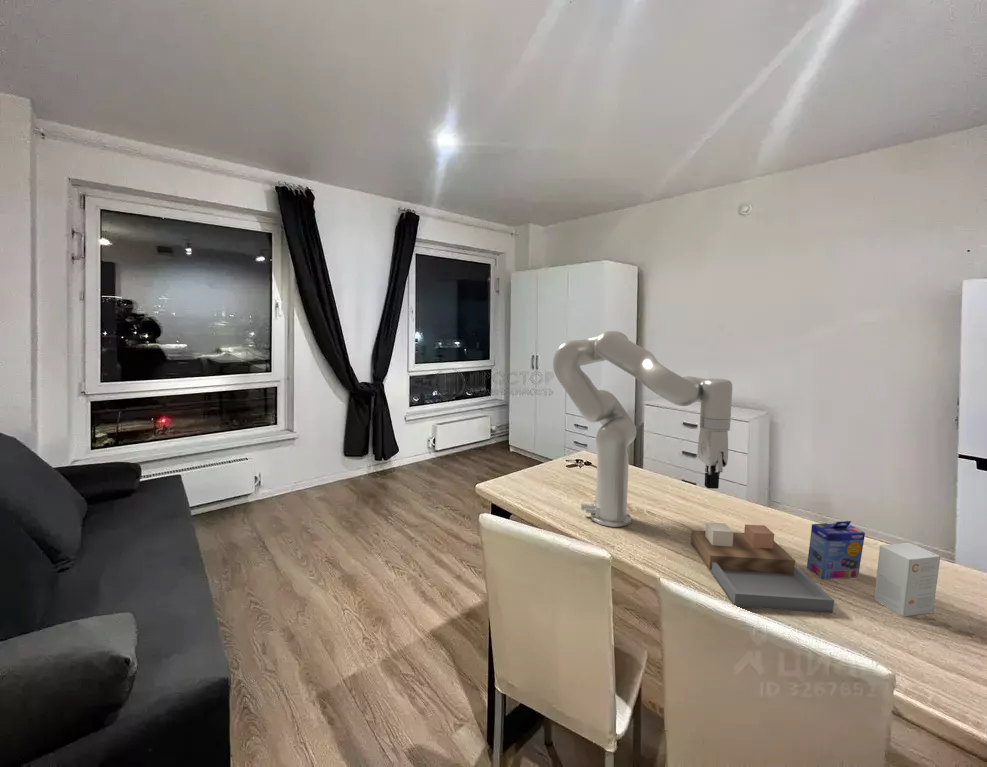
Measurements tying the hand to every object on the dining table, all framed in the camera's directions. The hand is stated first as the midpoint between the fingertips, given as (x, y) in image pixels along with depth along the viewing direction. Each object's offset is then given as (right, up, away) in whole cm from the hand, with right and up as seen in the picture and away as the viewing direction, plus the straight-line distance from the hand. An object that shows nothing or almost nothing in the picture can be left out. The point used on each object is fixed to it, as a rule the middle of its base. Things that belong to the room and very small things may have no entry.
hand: (711, 487), depth 123 cm
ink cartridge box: (+23, -18, -14) cm, 33 cm away
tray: (+2, -19, -22) cm, 29 cm away
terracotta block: (+9, -13, -7) cm, 17 cm away
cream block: (-1, -13, -6) cm, 14 cm away
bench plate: (+4, -17, -7) cm, 19 cm away
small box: (+29, -20, -27) cm, 44 cm away
